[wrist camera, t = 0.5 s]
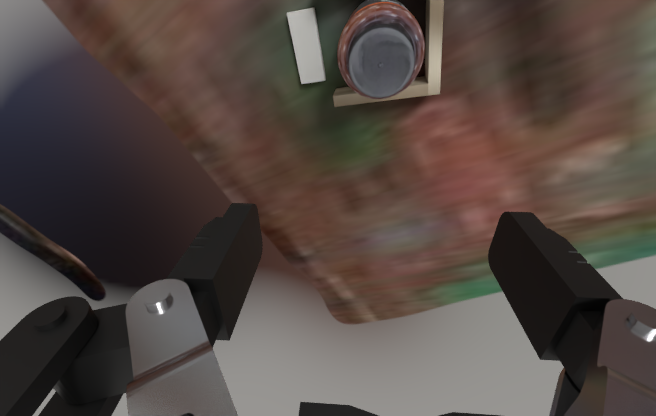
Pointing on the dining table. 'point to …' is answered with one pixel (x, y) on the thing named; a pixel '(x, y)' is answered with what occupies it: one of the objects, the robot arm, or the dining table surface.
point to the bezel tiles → (307, 45)
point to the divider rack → (432, 64)
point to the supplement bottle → (380, 49)
